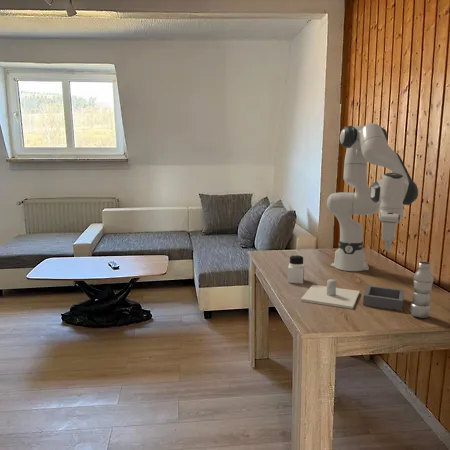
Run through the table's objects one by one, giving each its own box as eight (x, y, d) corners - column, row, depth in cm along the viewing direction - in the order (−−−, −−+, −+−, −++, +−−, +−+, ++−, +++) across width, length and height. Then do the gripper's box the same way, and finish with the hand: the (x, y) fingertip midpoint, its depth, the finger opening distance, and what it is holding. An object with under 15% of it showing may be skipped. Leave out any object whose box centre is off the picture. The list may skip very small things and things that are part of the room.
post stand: (312, 286, 181) (313, 271, 180) (359, 293, 173) (360, 277, 171) (300, 301, 163) (301, 284, 162) (352, 309, 155) (353, 291, 154)
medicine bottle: (303, 283, 185) (304, 258, 183) (287, 282, 186) (288, 257, 184) (303, 279, 192) (304, 254, 190) (288, 278, 193) (289, 253, 191)
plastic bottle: (406, 313, 151) (410, 260, 147) (423, 312, 151) (428, 260, 148) (415, 320, 144) (420, 265, 141) (433, 319, 145) (439, 265, 142)
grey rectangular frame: (367, 294, 171) (367, 285, 171) (403, 299, 165) (404, 289, 165) (362, 305, 159) (363, 295, 158) (402, 311, 153) (402, 300, 152)
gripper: (384, 210, 173) (382, 243, 175) (380, 217, 154) (377, 252, 157) (400, 211, 170) (398, 244, 172) (398, 218, 152) (395, 254, 154)
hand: (388, 248), depth 164 cm, fingers open, 8 cm apart
